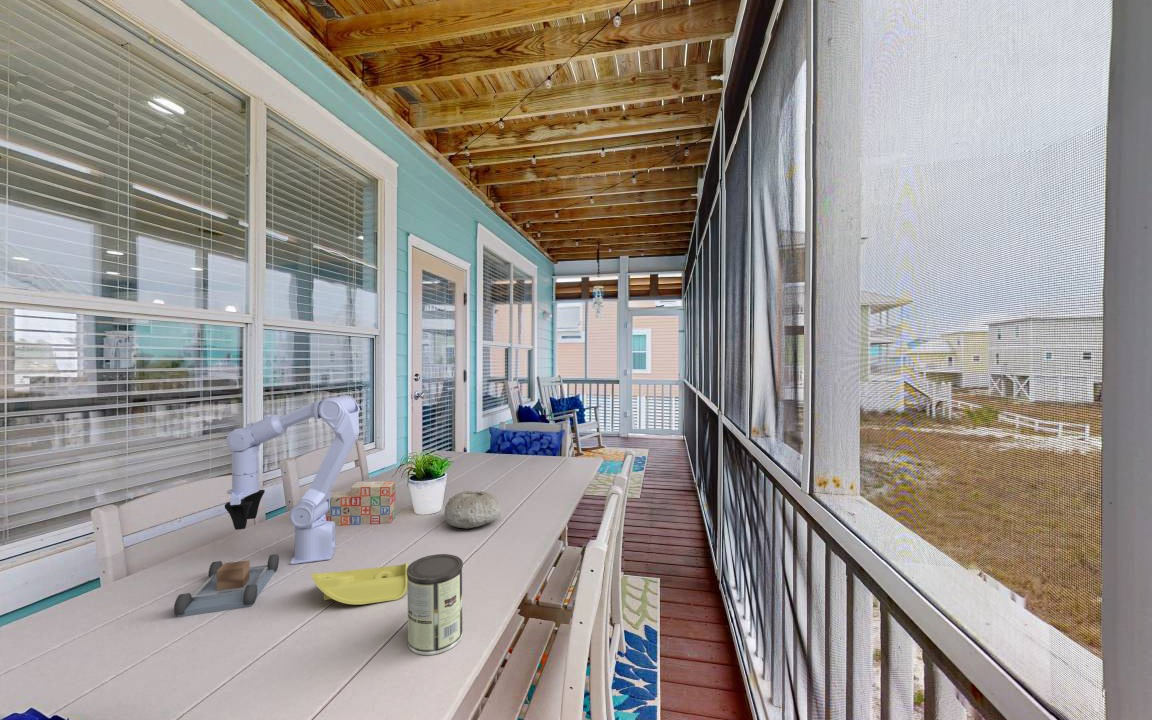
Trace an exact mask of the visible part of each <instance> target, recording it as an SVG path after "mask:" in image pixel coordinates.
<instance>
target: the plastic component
mask: <svg viewBox="0 0 1152 720" xmlns="http://www.w3.org/2000/svg"><path fill="white" fill-rule="evenodd" d="M408 566H409V563H408V562H405V563H403V564H399V565H398V564H397V565H391V566H382V567H371V568H370V567H369V568H361V569H354V570H353V569H352V570H342V571H333V572H324V573H314V572H311V573H310V575H311V577H312V580H313V582H314V583H315V585H316V586H317V588H318V589H319V590H320V591H321V592H322V593H324V596H323V600H325V601H326V600H334V601H336V602H339V603H342V604H345V605H346V604H347V605H361V606H362V605H367V604H375V603H382V602H389V601H396V600H400V599H401V598H402V597H404V595H405V594H406V592H408V591H407V568H408Z"/></svg>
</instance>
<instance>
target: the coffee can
mask: <svg viewBox="0 0 1152 720" xmlns="http://www.w3.org/2000/svg"><path fill="white" fill-rule="evenodd" d="M463 566H464V563H463V560H462V559H461V557H458V556H457V555H454V554H448V553H439V554H431V555H426V556H423V557H420V558H418V559H416V560H415V561H414V560H413V561H412V562H411V563H410V564H408V568H407V591H406V592H407V647H408V649H409V650H410V652H412V653H414V654H417V655H421V656H434V655H438V654H439V655H440V654H442V653H445V652H447V651H449V650H451V649H453V648H454V647H456V646H457V645H458V644H459V643H460V641H462V639H463V635H464V631H463Z"/></svg>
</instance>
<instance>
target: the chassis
mask: <svg viewBox="0 0 1152 720" xmlns="http://www.w3.org/2000/svg"><path fill="white" fill-rule="evenodd" d="M279 561H280V556H279V554H278V553H276V554H275V553H274V554H270V555H269V556H268V560H267V564H266V565H258V566H250V579H249V581H248V582H247V583H246V584H245V586H244V587H242V588H235V589H228V590H221V591H217V570H218V569H219V568H220V567H221V566H222V565H223V564H224V563H223V561H221V560H219V561H218V560H217V561H213V562H212V563H210V565H209V567H208V568H209V569H208V579H207V580H206V581H205V582H204V583H203V584H202V585H201V586H200V587H199V588H198V589H197V590H196V591H195V592H194V594H191V593H190V592H189V593H181V594H179V595H177V597H176V599H175V602H174V606H173V613H174V615H175V616H177V618H182V617H188V616H194V615H203V614H207V613H215V612H220V611H223V612H224V611H230V610H234V609H243V608H249V607H252V606H253V605H254V604H255V603H256V601H257V599H258V597H259V595H260V594H261V593H262V592H263V590H264V588H265V586H266V585H267V584H268V583H269V581H270V580H271V578H272V576H273V575H274V574H275V572H276V571H278V568H279V564H280V563H279Z"/></svg>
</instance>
